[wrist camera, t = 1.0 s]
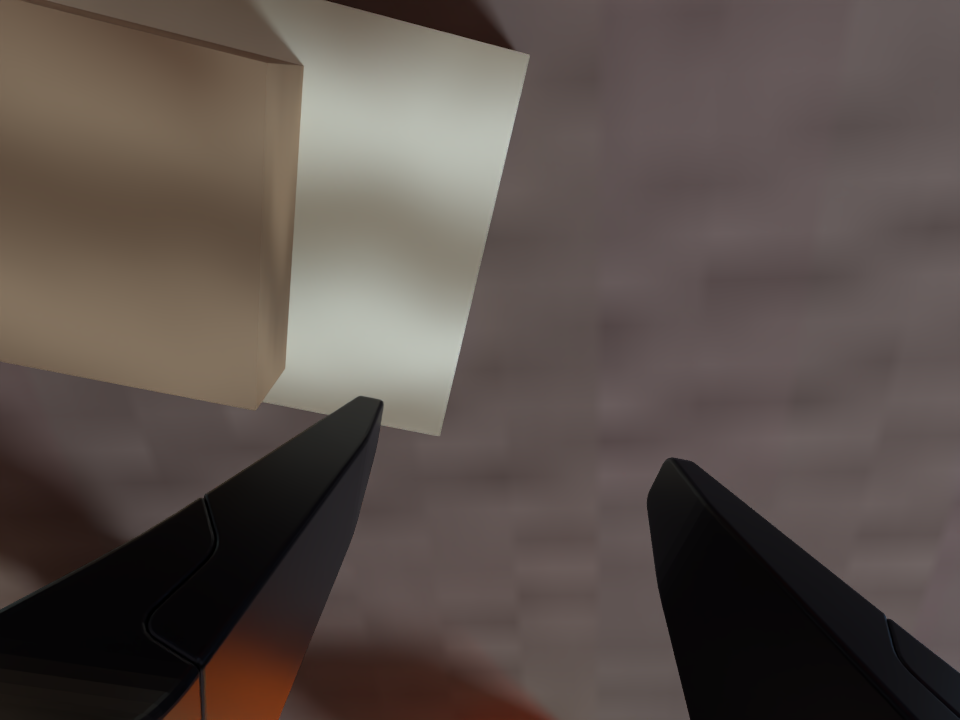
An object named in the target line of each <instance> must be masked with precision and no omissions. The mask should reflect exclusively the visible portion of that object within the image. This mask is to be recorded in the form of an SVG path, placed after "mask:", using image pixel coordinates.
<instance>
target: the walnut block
mask: <svg viewBox="0 0 960 720" xmlns="http://www.w3.org/2000/svg"><path fill="white" fill-rule="evenodd" d="M303 72H304V66H303V65H299V64H295V63H291V62H287V61H283V60H279V59H275V58H271V57H267V56H263V55H259V54H256V53H252V52H248V51H244V50H240V49H236V48H232V47H228V46H224V45H220V44H216V43H212V42H208V41H204V40H200V39H196V38H192V37H189V36H185V35H181V34H177V33H173V32H169V31H165V30H161V29H157V28H153V27H149V26H145V25H141V24H137V23H133V22H129V21H126V20H122V19H118V18H114V17H110V16H106V15H102V14H98V13H94V12H90V11H86V10H82V9H78V8H74V7H70V6H66V5H63V4H59V3H55V2H51V1H47V0H0V361H1V362H6V363H11V364H16V365H22V366H27V367H32V368H37V369H42V370H48V371H53V372H58V373H63V374H68V375H73V376H79V377H84V378H89V379H94V380H99V381H105V382H110V383H115V384H120V385H125V386H130V387H136V388H141V389H146V390H151V391H156V392H161V393H167V394H172V395H177V396H182V397H187V398H193V399H198V400H203V401H208V402H213V403H218V404H224V405H229V406H234V407H239V408H244V409H250V410H255V411H256V409H257V408H258V407H259V405H260V404H261V402H262V401H263V400H264V398H265V397H266V395H267V394H268V393H269V391H270V390H271V388H272V387H273V385H274V384H275V383H276V381H277V380H278V378H279V377H280V376H281V374H282V373H283V371H284V370H285V365H286V349H287V332H288V316H289V300H290V284H291V267H292V251H293V235H294V218H295V202H296V186H297V170H298V153H299V137H300V121H301V104H302V88H303Z"/></svg>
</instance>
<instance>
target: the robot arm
mask: <svg viewBox="0 0 960 720" xmlns="http://www.w3.org/2000/svg"><path fill="white" fill-rule="evenodd" d="M383 407H384V403H383V401H382V400H380V399H376V398H371V397H366V396H358V397H356V398H354V399H353V400H351V401H350V402H348V403H346V404H345V405H343V406H342V407H340V408H339V409H337V410H336V411H334V412H333V413H331V414H329V415H328V416H326V417H325V418H323V419H322V420H320V421H319V422H317V423H315V424H314V425H312V426H311V427H309V428H308V429H306V430H305V431H303V432H301V433H300V434H298V435H297V436H295V437H294V438H292V439H291V440H289V441H287V442H286V443H284V444H283V445H281V446H280V447H278V448H277V449H275V450H273V451H272V452H270V453H269V454H267V455H266V456H264V457H263V458H261V459H260V460H258V461H256V462H255V463H253V464H252V465H250V466H249V467H247V468H246V469H244V470H242V471H241V472H239V473H238V474H236V475H235V476H233V477H232V478H230V479H228V480H227V481H225V482H224V483H222V484H221V485H219V486H218V487H216V488H214V489H213V490H211V491H210V492H208V493H207V494H205V496H204V498H199V499H197V500H195V501H194V502H192V503H191V504H189V505H188V506H186V507H185V508H183V509H181V510H180V511H178V512H177V513H175V514H173V515H172V516H170V517H169V518H167V519H165V520H164V521H162V522H160V523H159V524H157V525H155V526H154V527H152V528H150V529H149V530H147V531H146V532H144V533H142V534H141V535H139V536H137V537H135V538H134V539H132V540H130V541H128V542H126V543H124V544H123V545H121V546H119V547H117V548H115V549H114V550H112V551H110V552H108V553H106V554H104V555H103V556H101V557H99V558H97V559H95V560H94V561H92V562H90V563H88V564H86V565H84V566H82V567H80V568H78V569H77V570H75V571H73V572H71V573H69V574H67V575H65V576H63V577H61V578H59V579H58V580H56V581H54V582H52V583H50V584H48V585H46V586H44V587H42V588H40V589H39V590H37V591H35V592H33V593H31V594H29V595H27V596H25V597H23V598H21V599H19V600H18V601H16V602H14V603H12V604H10V605H8V606H6V607H4V608H2V609H0V720H278V719H279V717H280V714H281V712H282V709H283V707H284V704H285V702H286V699H287V697H288V695H289V692H290V690H291V687H292V685H293V682H294V680H295V677H296V675H297V672H298V670H299V668H300V665H301V663H302V660H303V658H304V655H305V653H306V650H307V648H308V645H309V643H310V641H311V638H312V636H313V633H314V631H315V628H316V626H317V623H318V621H319V618H320V616H321V613H322V611H323V609H324V606H325V604H326V601H327V599H328V596H329V594H330V591H331V589H332V586H333V584H334V582H335V579H336V577H337V574H338V572H339V569H340V567H341V564H342V562H343V559H344V557H345V555H346V552H347V550H348V547H349V544H350V542H351V539H352V536H353V534H354V530H355V527H356V524H357V520H358V517H359V513H360V509H361V505H362V502H363V498H364V494H365V490H366V486H367V483H368V479H369V475H370V471H371V467H372V464H373V460H374V456H375V452H376V448H377V443H378V437H379V431H380V426H381V420H382V414H383ZM647 511H648V518H649V526H650V533H651V541H652V548H653V556H654V564H655V571H656V578H657V584H658V589H659V594H660V598H661V603H662V607H663V611H664V615H665V619H666V623H667V627H668V631H669V635H670V639H671V643H672V647H673V651H674V655H675V660H676V664H677V668H678V672H679V676H680V680H681V684H682V688H683V692H684V696H685V700H686V704H687V708H688V712H689V716H690V720H960V673H959V672H958V671H956V670H955V669H954V668H952V667H951V666H950V665H949V664H947V663H946V662H945V661H943V660H942V659H941V658H940V657H938V656H937V655H936V654H934V653H933V652H932V651H931V650H929V649H928V648H927V647H925V646H924V645H923V644H922V643H920V642H919V641H918V640H916V639H915V638H914V637H913V636H911V635H910V634H909V633H908V632H906V631H905V630H904V629H903V628H901V627H900V626H899V625H898V624H896V623H895V622H894V621H893V620H891V619H886V616H885V614H884V613H882V612H881V611H880V610H879V609H877V608H876V607H875V606H874V605H872V604H871V603H870V602H869V601H867V600H866V599H865V598H864V597H862V596H861V595H860V594H859V593H857V592H856V591H855V590H853V589H852V588H851V587H850V586H848V585H847V584H846V583H845V582H843V581H842V580H841V579H840V578H838V577H837V576H836V575H835V574H833V573H832V572H831V571H830V570H828V569H827V568H826V567H825V566H823V565H822V564H821V563H820V562H818V561H817V560H816V559H815V558H813V557H812V556H811V555H809V554H808V553H807V552H806V551H804V550H803V549H802V548H801V547H799V546H798V545H797V544H796V543H794V542H793V541H792V540H791V539H789V538H788V537H787V536H786V535H784V534H783V533H782V532H781V531H779V530H778V529H777V528H776V527H774V526H773V525H772V524H771V523H769V522H768V521H767V520H766V519H764V518H763V517H762V516H760V515H759V514H758V513H757V512H755V511H754V510H753V509H752V508H750V507H749V506H748V505H747V504H745V503H744V502H743V501H742V500H740V499H739V498H738V497H737V496H735V495H734V494H733V493H732V492H730V491H729V490H728V489H727V488H725V487H724V486H723V485H722V484H720V483H719V482H718V481H717V480H715V479H714V478H713V477H711V476H710V475H709V474H708V473H706V472H705V471H704V470H703V469H701V468H700V467H699V466H698V465H696V464H695V463H694V462H691V461H688V460H683V459H678V458H668V459H667V460H666V461H665V462H664V463H663V465H662V467H661V469H660V471H659V473H658V475H657V477H656V479H655V481H654V483H653V485H652V487H651V489H650V491H649V494H648V497H647Z"/></svg>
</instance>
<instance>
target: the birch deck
mask: <svg viewBox="0 0 960 720" xmlns="http://www.w3.org/2000/svg"><path fill="white" fill-rule="evenodd" d="M47 1H51V2H55V3H59V4H63V5H66V6H70V7H74V8H78V9H82V10H86V11H90V12H94V13H98V14H102V15H106V16H110V17H114V18H118V19H122V20H126V21H129V22H133V23H137V24H141V25H145V26H149V27H153V28H157V29H161V30H165V31H169V32H173V33H177V34H181V35H185V36H189V37H192V38H196V39H200V40H204V41H208V42H212V43H216V44H220V45H224V46H228V47H232V48H236V49H240V50H244V51H248V52H252V53H256V54H259V55H263V56H267V57H271V58H275V59H279V60H283V61H287V62H291V63H295V64H299V65H303V66H304V72H303V88H302V104H301V121H300V137H299V153H298V170H297V186H296V202H295V218H294V235H293V251H292V267H291V284H290V300H289V316H288V332H287V349H286V365H285V370H284V371H283V373H282V374H281V376H280V377H279V378H278V380H277V381H276V383H275V384H274V385H273V387H272V388H271V390H270V391H269V393H268V394H267V395H266V397H265V398H264V400H263V401H262V402H266V403H271V404H276V405H281V406H286V407H291V408H297V409H302V410H307V411H312V412H317V413H322V414H327V415H329V414H331V413H333V412H334V411H336V410H337V409H339V408H340V407H342V406H343V405H345V404H346V403H348V402H350V401H351V400H353V399H354V398H356V397H358V396H366V397H371V398H376V399H380V400H382V401H383V403H384V407H383V414H382V420H381V425H384V426H389V427H394V428H399V429H404V430H409V431H415V432H420V433H425V434H430V435H435V436H440V432H441V428H442V424H443V420H444V416H445V411H446V407H447V403H448V399H449V395H450V390H451V386H452V382H453V378H454V373H455V369H456V365H457V361H458V357H459V352H460V348H461V344H462V340H463V335H464V331H465V327H466V323H467V319H468V314H469V310H470V306H471V302H472V297H473V293H474V289H475V285H476V281H477V276H478V272H479V268H480V264H481V259H482V255H483V251H484V247H485V243H486V238H487V234H488V230H489V226H490V221H491V217H492V213H493V209H494V205H495V200H496V196H497V192H498V188H499V184H500V179H501V175H502V171H503V167H504V162H505V158H506V154H507V150H508V146H509V141H510V137H511V133H512V129H513V124H514V120H515V116H516V112H517V108H518V103H519V99H520V95H521V91H522V86H523V82H524V78H525V74H526V70H527V65H528V61H529V57H530V55H529V54H525V53H521V52H517V51H514V50H510V49H506V48H502V47H499V46H495V45H491V44H487V43H484V42H480V41H476V40H472V39H468V38H465V37H461V36H457V35H453V34H450V33H446V32H442V31H438V30H435V29H431V28H427V27H423V26H420V25H416V24H412V23H408V22H405V21H401V20H397V19H393V18H390V17H386V16H382V15H378V14H375V13H371V12H367V11H363V10H359V9H356V8H352V7H348V6H344V5H341V4H337V3H333V2H329V1H326V0H47Z"/></svg>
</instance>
